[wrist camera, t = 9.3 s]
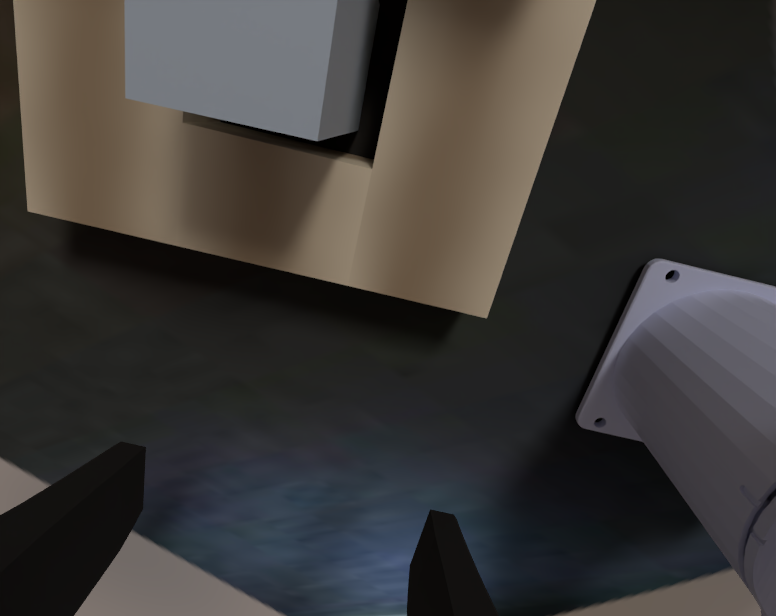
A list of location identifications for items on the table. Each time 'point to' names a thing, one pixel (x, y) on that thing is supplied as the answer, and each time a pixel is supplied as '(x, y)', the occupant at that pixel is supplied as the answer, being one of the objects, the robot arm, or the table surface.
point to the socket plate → (311, 151)
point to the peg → (254, 61)
